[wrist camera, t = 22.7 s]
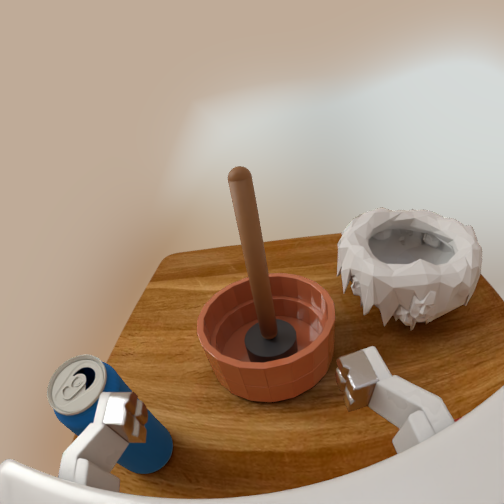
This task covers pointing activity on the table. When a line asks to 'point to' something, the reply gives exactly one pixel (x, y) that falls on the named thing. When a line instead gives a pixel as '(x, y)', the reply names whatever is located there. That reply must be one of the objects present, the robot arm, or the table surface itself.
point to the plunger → (258, 277)
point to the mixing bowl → (244, 317)
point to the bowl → (409, 263)
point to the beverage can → (85, 404)
